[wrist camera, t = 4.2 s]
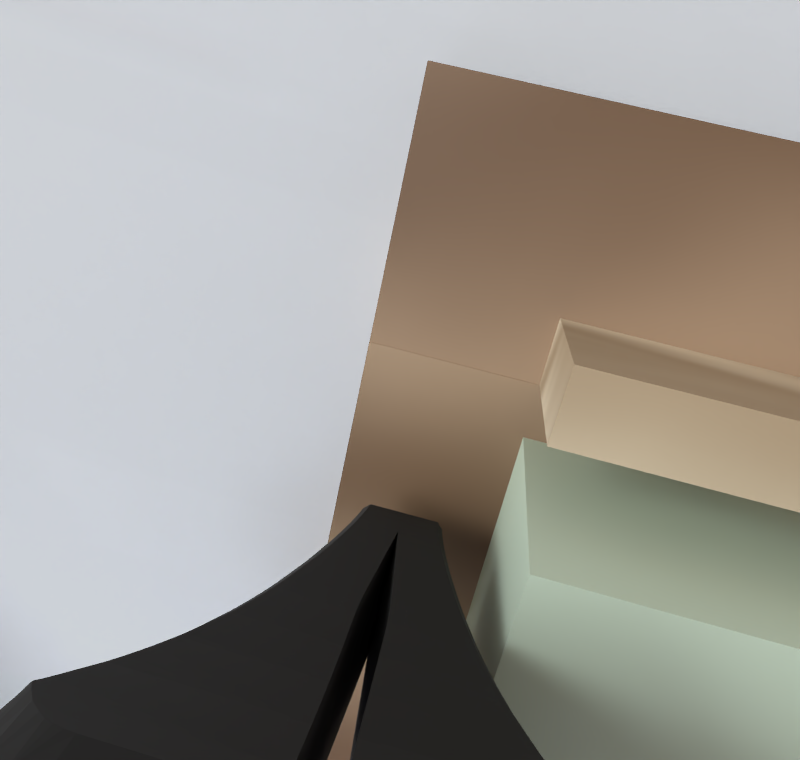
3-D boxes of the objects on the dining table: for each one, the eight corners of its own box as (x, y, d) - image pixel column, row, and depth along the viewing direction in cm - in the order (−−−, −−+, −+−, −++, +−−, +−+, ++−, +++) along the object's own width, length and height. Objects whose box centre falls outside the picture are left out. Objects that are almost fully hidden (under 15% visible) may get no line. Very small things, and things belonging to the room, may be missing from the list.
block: (702, 726, 13) (780, 960, 9) (454, 655, 13) (433, 852, 10) (811, 512, 11) (964, 694, 7) (523, 437, 12) (530, 574, 8)
